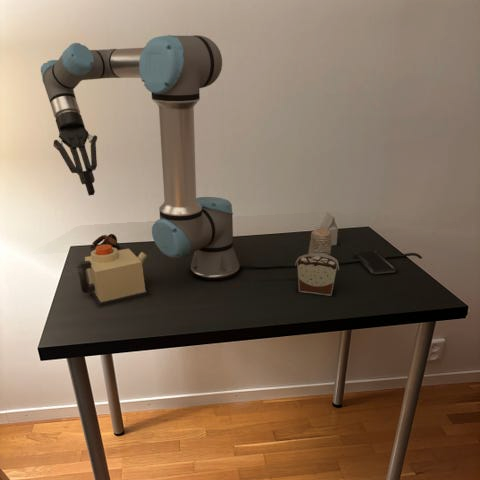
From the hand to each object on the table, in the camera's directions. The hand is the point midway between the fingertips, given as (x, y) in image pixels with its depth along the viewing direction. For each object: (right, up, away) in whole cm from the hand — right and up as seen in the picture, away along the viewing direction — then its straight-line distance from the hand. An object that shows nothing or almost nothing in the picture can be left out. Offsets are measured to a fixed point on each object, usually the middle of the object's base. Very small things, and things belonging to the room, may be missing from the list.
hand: (91, 193), depth 146 cm
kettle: (+8, -29, -1) cm, 30 cm away
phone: (+87, -19, +13) cm, 90 cm away
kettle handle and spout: (+8, -29, -1) cm, 30 cm away
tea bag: (+75, -10, +31) cm, 82 cm away
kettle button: (+5, -18, -5) cm, 20 cm away
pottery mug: (-1, -15, +24) cm, 29 cm away
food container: (+66, -28, -2) cm, 72 cm away
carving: (+69, -21, +12) cm, 73 cm away
